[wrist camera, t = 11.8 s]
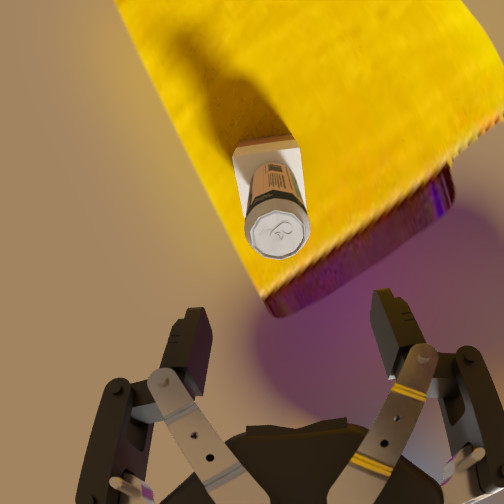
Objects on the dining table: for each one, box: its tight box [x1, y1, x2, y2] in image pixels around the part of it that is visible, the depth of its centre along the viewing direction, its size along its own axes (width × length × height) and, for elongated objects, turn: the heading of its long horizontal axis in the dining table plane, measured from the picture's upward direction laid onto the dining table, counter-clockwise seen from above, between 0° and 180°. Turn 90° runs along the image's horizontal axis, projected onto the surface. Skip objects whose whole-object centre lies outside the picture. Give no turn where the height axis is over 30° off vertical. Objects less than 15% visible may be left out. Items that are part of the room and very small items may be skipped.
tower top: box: [232, 140, 306, 217], centre depth 33 cm, size 7×7×5 cm
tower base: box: [236, 133, 295, 148], centre depth 37 cm, size 7×7×5 cm
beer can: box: [244, 162, 310, 260], centre depth 26 cm, size 5×5×12 cm
